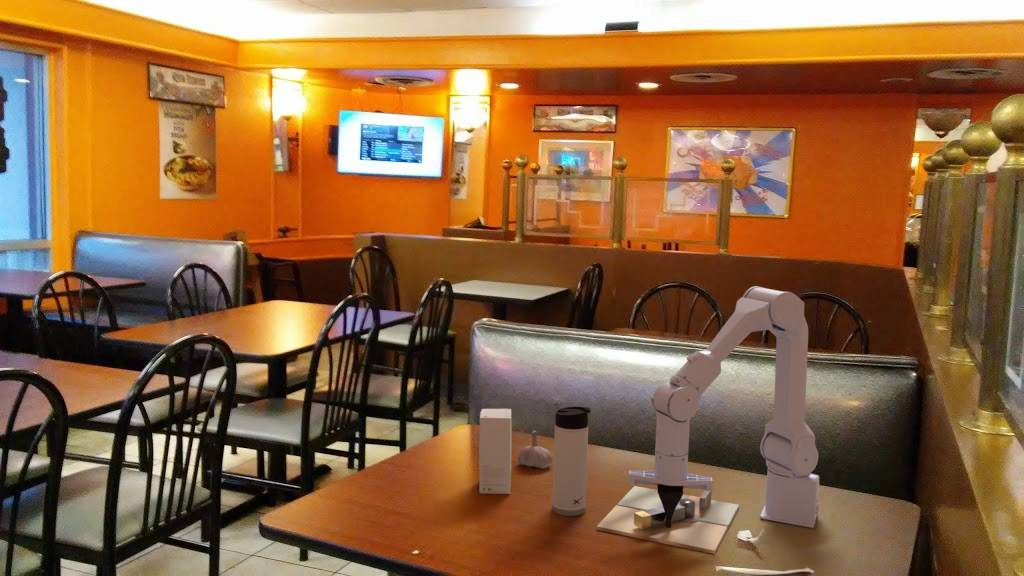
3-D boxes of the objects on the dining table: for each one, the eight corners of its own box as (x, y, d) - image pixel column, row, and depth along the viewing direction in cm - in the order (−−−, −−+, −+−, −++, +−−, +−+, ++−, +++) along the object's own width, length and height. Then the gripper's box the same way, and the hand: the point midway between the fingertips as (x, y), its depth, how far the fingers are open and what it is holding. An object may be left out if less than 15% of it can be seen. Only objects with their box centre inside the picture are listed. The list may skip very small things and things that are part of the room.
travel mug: (585, 518, 151) (588, 413, 149) (550, 514, 153) (553, 410, 150) (588, 505, 157) (592, 404, 155) (555, 502, 159) (558, 402, 156)
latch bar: (687, 511, 153) (687, 497, 153) (697, 516, 150) (698, 502, 150) (632, 524, 146) (633, 510, 146) (642, 529, 144) (643, 515, 144)
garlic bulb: (511, 464, 181) (512, 429, 180) (537, 458, 185) (538, 424, 184) (532, 474, 175) (533, 438, 174) (558, 468, 179) (559, 432, 178)
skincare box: (510, 495, 162) (511, 418, 160) (476, 494, 162) (478, 418, 160) (511, 480, 170) (512, 407, 169) (479, 479, 170) (480, 406, 169)
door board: (738, 507, 158) (739, 490, 158) (714, 553, 138) (715, 534, 137) (634, 488, 167) (634, 472, 167) (596, 529, 146) (597, 511, 146)
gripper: (712, 448, 147) (708, 520, 148) (630, 441, 149) (627, 513, 151) (715, 460, 140) (710, 536, 141) (629, 453, 142) (626, 528, 144)
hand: (667, 525), depth 145 cm, fingers closed, pressing on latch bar
